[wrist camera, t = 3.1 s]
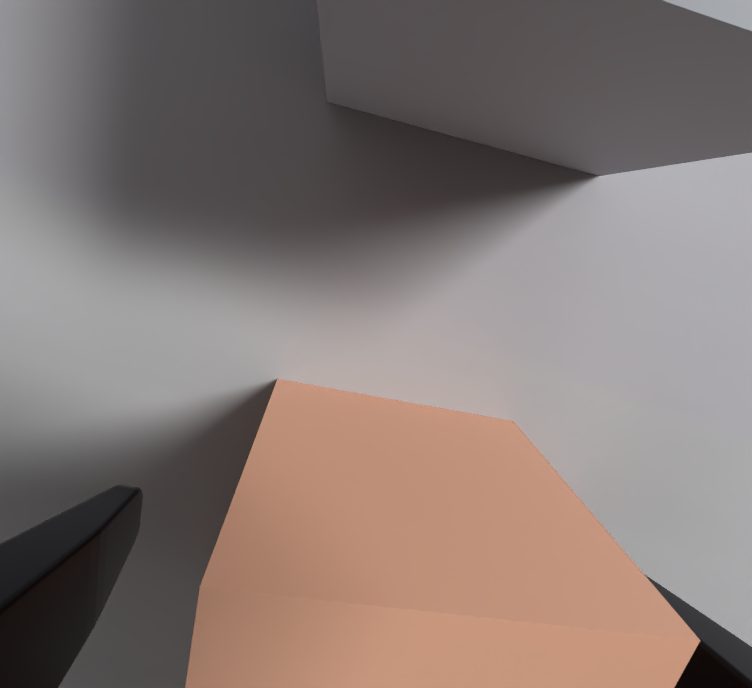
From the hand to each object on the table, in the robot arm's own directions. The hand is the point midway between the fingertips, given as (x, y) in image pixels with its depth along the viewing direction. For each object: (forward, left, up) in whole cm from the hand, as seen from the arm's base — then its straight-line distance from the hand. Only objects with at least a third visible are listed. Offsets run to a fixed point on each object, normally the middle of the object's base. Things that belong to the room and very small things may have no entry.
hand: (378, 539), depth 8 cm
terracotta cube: (0, 0, -1) cm, 1 cm away
